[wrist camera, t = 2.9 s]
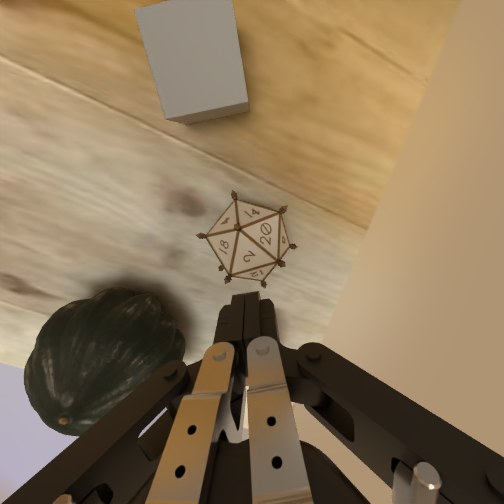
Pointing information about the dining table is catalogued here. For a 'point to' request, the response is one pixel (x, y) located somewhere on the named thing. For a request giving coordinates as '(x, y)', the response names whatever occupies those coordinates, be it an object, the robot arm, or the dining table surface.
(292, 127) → the dining table surface
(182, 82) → the slate cube
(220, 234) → the game die
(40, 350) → the squash
